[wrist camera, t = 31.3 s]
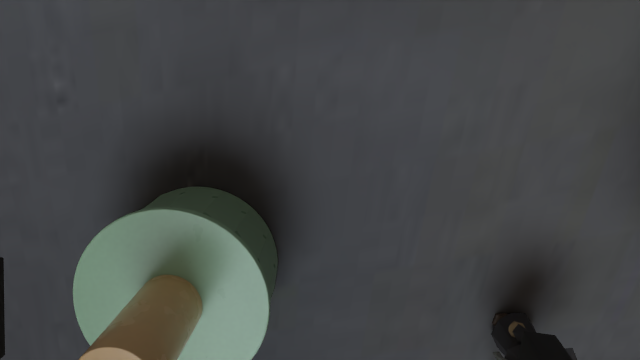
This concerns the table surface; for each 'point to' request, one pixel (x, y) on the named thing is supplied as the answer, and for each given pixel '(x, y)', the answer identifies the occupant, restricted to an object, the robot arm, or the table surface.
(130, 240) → the lid
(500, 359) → the wizard figurine
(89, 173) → the table surface
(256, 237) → the pot
